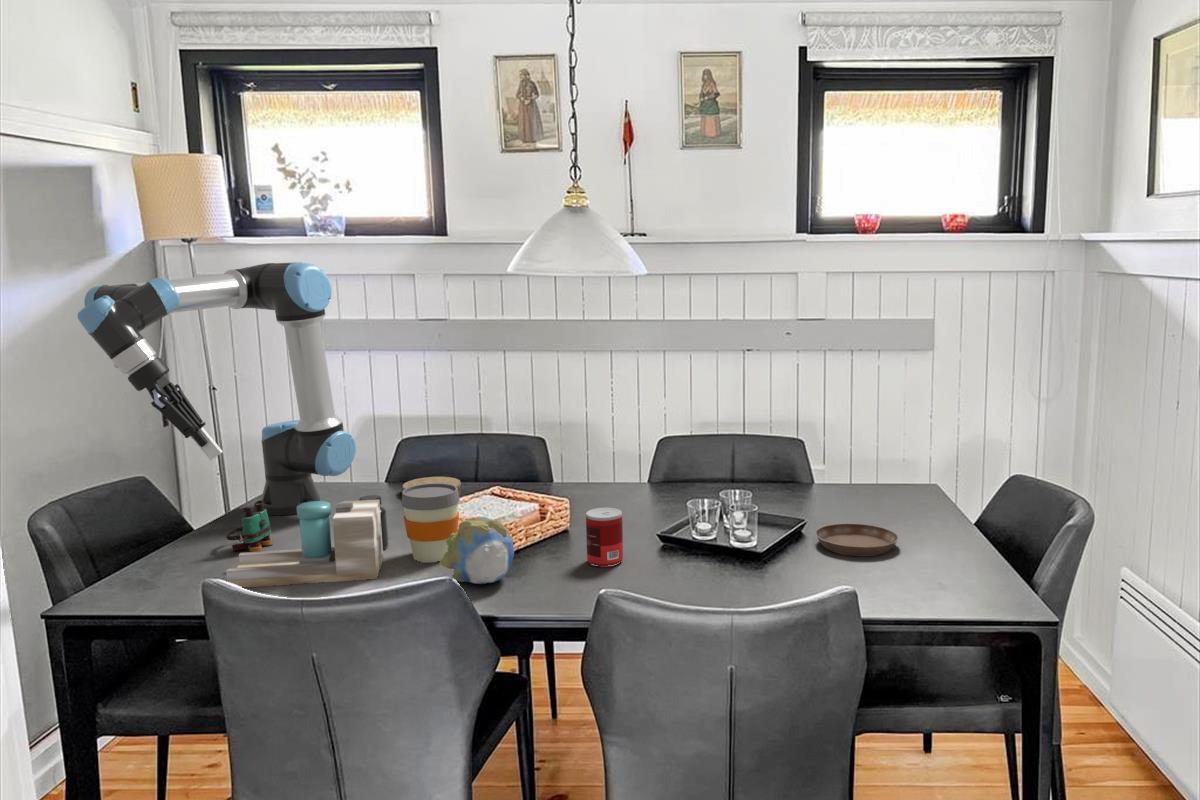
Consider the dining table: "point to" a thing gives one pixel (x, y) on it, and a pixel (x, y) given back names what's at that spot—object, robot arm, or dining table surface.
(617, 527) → the canned food
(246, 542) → the binoculars
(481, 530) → the decorative rock
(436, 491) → the reusable coffee cup
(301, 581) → the knob mount
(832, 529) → the plant saucer
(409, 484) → the tan shallow dish
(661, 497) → the dining table surface
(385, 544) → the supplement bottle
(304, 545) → the knob slider
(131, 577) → the dining table surface
